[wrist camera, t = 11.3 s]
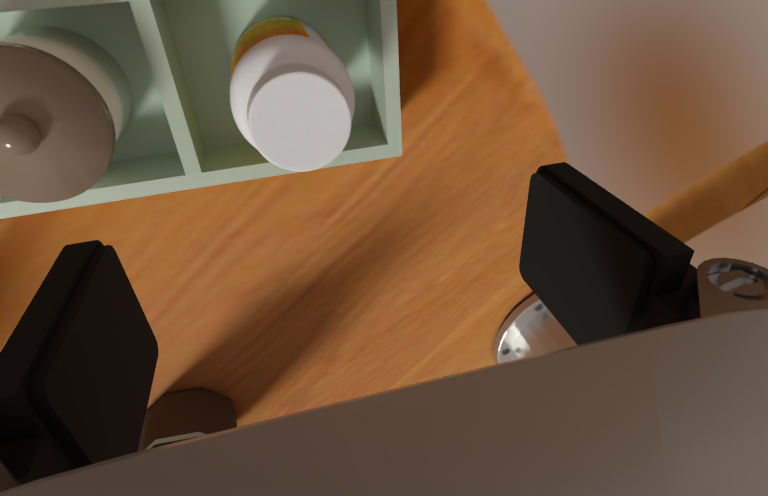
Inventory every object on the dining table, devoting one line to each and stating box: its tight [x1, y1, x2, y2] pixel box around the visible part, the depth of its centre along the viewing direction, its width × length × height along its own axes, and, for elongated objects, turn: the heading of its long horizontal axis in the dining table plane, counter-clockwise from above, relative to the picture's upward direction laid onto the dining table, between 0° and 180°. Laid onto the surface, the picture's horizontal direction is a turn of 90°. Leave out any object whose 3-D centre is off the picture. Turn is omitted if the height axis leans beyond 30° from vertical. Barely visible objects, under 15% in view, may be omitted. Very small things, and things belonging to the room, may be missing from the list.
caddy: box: [0, 0, 402, 219], centre depth 24 cm, size 22×10×4 cm, turn 93°
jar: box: [0, 26, 132, 203], centre depth 21 cm, size 6×6×7 cm
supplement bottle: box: [230, 15, 355, 172], centre depth 22 cm, size 5×5×10 cm
